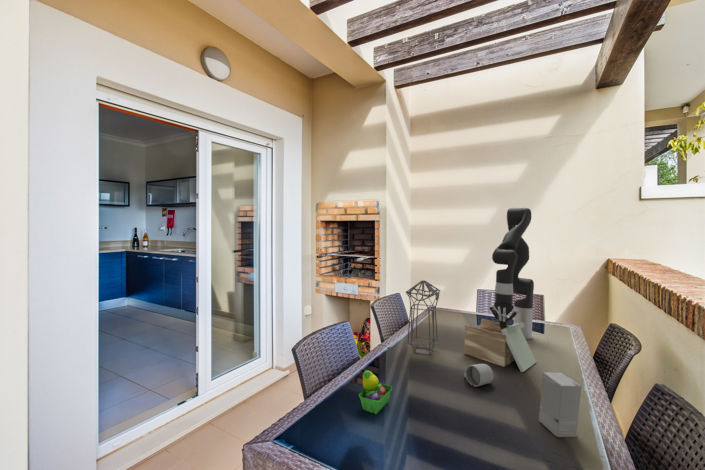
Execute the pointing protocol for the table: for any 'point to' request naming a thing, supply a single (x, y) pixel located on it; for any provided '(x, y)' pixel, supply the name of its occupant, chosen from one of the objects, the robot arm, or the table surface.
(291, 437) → the table surface
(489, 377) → the ceramic mug
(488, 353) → the birch box
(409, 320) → the geometric lantern
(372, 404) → the fruit basket
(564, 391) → the skincare box
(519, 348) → the cover plate
